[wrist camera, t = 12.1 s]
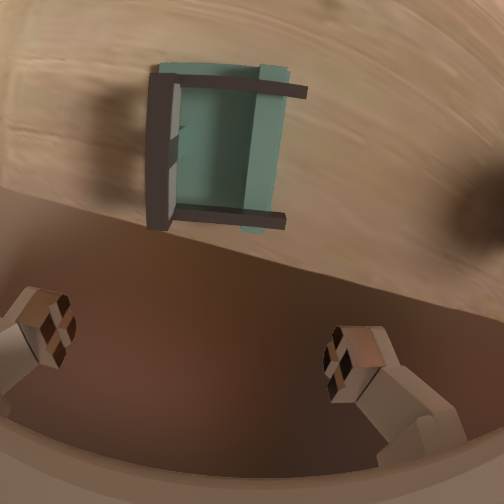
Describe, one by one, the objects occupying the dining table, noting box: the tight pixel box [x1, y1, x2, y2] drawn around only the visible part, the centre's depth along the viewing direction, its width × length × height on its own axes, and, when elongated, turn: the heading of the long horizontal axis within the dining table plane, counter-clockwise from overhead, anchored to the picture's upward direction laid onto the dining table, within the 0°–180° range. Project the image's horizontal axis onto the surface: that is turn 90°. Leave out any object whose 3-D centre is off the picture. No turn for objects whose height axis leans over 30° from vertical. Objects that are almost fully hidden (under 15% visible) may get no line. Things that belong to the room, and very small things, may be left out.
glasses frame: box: [145, 73, 308, 231], centre depth 25 cm, size 14×13×4 cm
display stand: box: [159, 63, 290, 234], centre depth 29 cm, size 17×14×5 cm
